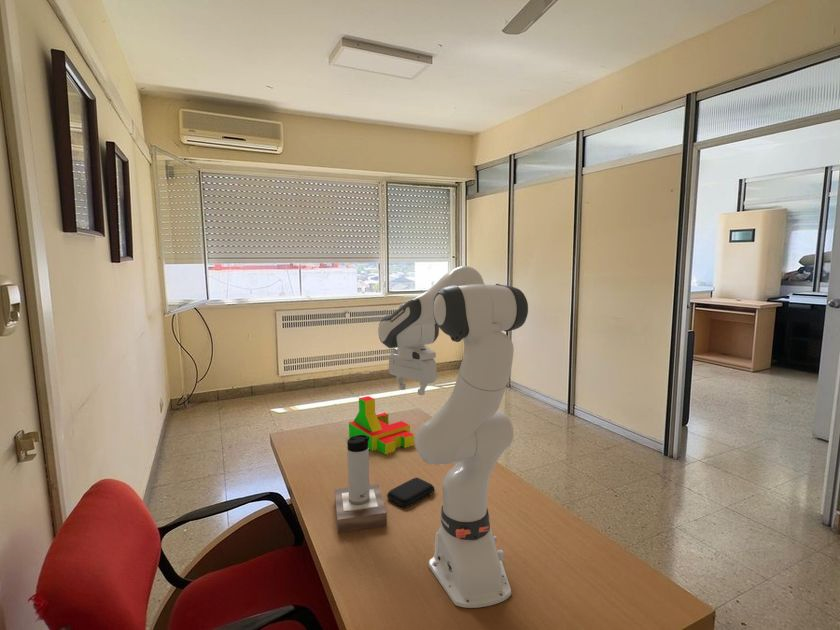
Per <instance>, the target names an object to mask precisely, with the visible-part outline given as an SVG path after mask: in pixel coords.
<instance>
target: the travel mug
mask: <svg viewBox="0 0 840 630" xmlns="http://www.w3.org/2000/svg"><path fill="white" fill-rule="evenodd" d="M368 441H369V437H368V436H366V435H357V436H353V437H349V438H348V440H347V442H346V443H347V447H346V448H347V481H348V486H347V487H349V502H350V503H351V504H354V505H362V504H365V503H367V502H368V501H369V499H370V494H369V485H370V463H369V462H370V461H369V460H370V459H369V449H368Z"/></svg>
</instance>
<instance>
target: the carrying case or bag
mask: <svg viewBox="0 0 840 630" xmlns="http://www.w3.org/2000/svg"><path fill="white" fill-rule="evenodd" d="M435 491H436V489H435V486H434V485H433V484H432V483H429V482H427V481H426V480H423V479H421V478H419V477H413V478H412V479H409V480H407V481H406V482H404V483H402V484H400V485H398V486H395V487H394V488H392V489H391V490H389V491H388V492H387V495H386V498H387V499H389V500H390V501H391V502H393V503H395V504H397V505H399V507H402V508H408V507H411V506H412V505H414V504H416V503H418V502H419V501H421V500H423V499H424V498H426V497H431V496H432V495H433V494H434V493H435Z"/></svg>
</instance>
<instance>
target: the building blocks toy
mask: <svg viewBox="0 0 840 630" xmlns="http://www.w3.org/2000/svg"><path fill="white" fill-rule="evenodd" d="M389 422H390V421H389V414H388V413H387V412H382V413H378V414H376V399H375V398H374V397H371V396H370V395H367V396H362V397H358V413H357V415H356V416H355V418H354V419H353V421H349V422H348V437H349V438H351V437H353V436H357V435H366V436H368V437H369V441H368V448H369V449H370V451H371V450H372V451H371V452H374V451H373V450H375V451H378V450H379V452H380V451H381V452H382V453H381V452H380V453H381V454H383V453H384V454H383V455H385V454H387V455H389V454H388V453H390V454H392V453H391V452H393V453H395V452H396V449H397V448H396V447H398V448H400V446H402V448H403V447H404V449H407V448H406V447H408V448H410V447H409V446H411V447H413V445H414V446H415V434H414V433H412V432H411V424H409V423H407V422H404V421H402V420H400V421H396V422H393V423H390V424H389ZM369 449H368V450H369ZM376 449H378V450H376ZM394 451H395V452H394Z"/></svg>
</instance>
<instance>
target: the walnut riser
mask: <svg viewBox="0 0 840 630" xmlns="http://www.w3.org/2000/svg"><path fill="white" fill-rule="evenodd" d="M369 494H370V499H369V501H368V502H367V503H365V504H362V505H354V504H351V503H350V502H349V487H348V486H347V487H340V488H339V487H338V488H335V489H334V502H335V513H336V524H337V525H336V527H337V533H338V534H339V533H345V532H353V531H358V530H366V529H367V530H368V529H372V528H373V529H374V528H380V527H386V526H388V521H387V520H388V519H387V517H388V516H387V510H386V509H387V508H386V506H385V503H384V499H383V495H382V492H381V488H380V485H379V483H372V484H370V483H369Z"/></svg>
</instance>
